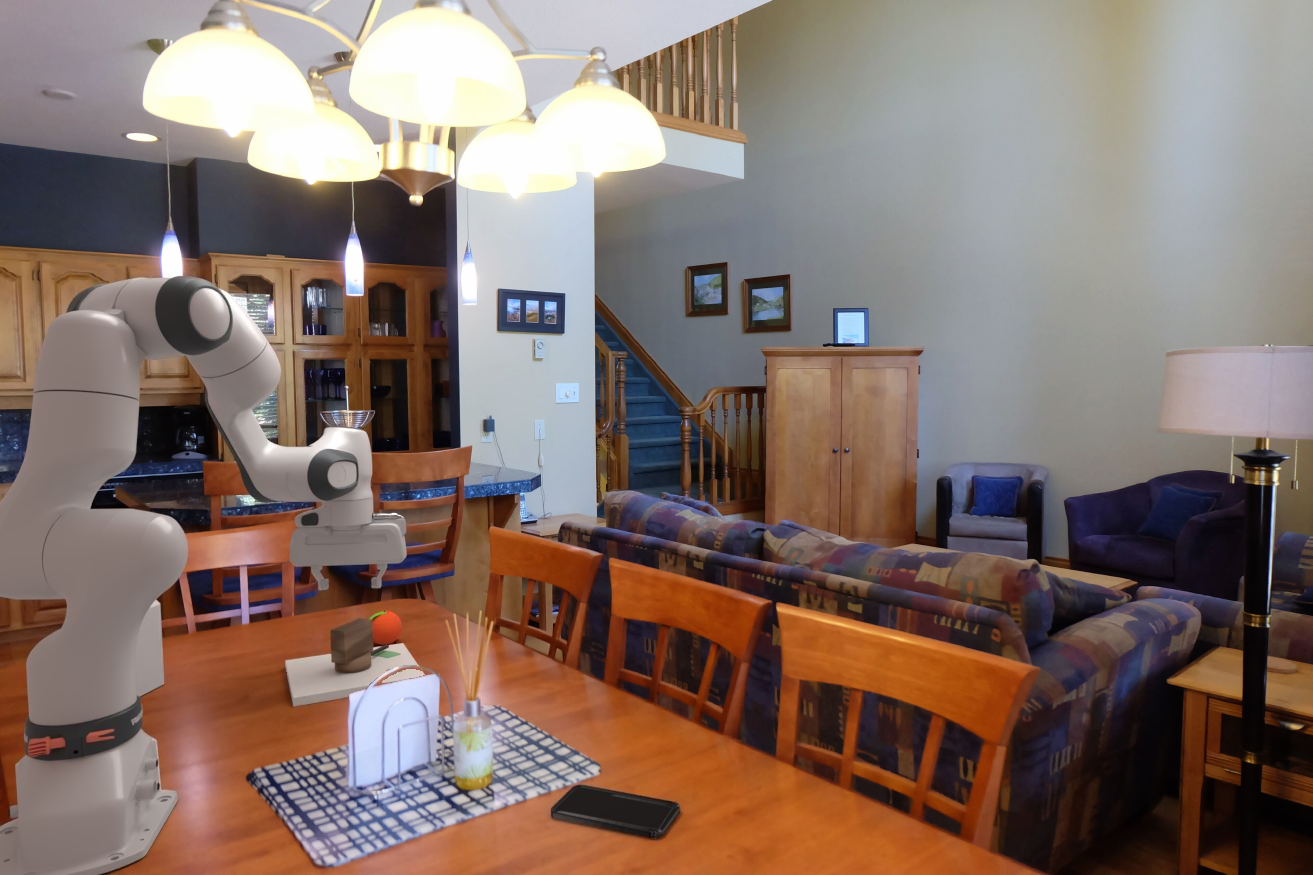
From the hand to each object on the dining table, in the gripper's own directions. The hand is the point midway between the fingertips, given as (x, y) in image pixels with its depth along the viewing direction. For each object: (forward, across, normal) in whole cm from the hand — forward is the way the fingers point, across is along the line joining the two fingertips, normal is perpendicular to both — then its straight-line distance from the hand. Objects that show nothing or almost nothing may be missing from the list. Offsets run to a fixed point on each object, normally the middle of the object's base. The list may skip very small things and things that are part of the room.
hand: (350, 588), depth 154 cm
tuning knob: (+15, -1, -3) cm, 15 cm away
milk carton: (+17, +38, +1) cm, 41 cm away
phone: (+18, -45, +56) cm, 74 cm away
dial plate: (+17, 0, -1) cm, 17 cm away
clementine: (+16, -2, -19) cm, 25 cm away
